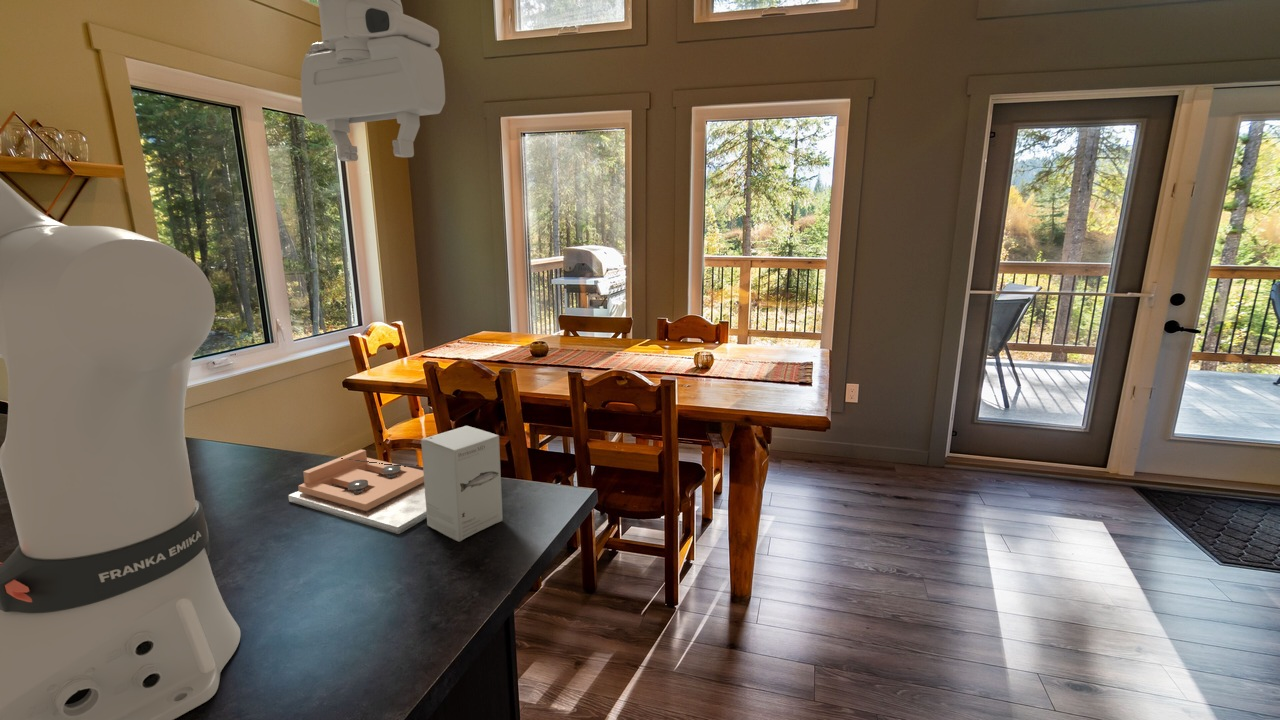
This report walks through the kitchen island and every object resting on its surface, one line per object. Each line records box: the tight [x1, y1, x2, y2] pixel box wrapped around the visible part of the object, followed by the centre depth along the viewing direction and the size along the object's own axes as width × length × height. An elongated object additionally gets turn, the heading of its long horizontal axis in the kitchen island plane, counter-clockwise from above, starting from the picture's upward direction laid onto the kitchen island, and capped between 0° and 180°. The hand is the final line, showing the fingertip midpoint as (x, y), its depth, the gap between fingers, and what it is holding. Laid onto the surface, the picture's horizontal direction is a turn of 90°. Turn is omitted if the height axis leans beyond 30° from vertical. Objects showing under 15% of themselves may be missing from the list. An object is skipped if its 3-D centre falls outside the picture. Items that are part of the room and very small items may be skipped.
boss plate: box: [287, 465, 427, 535], centre depth 85 cm, size 14×22×3 cm, turn 65°
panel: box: [298, 449, 424, 511], centre depth 86 cm, size 12×14×3 cm
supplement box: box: [420, 425, 504, 543], centre depth 76 cm, size 7×7×13 cm
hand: (375, 159), depth 69 cm, fingers open, 8 cm apart
